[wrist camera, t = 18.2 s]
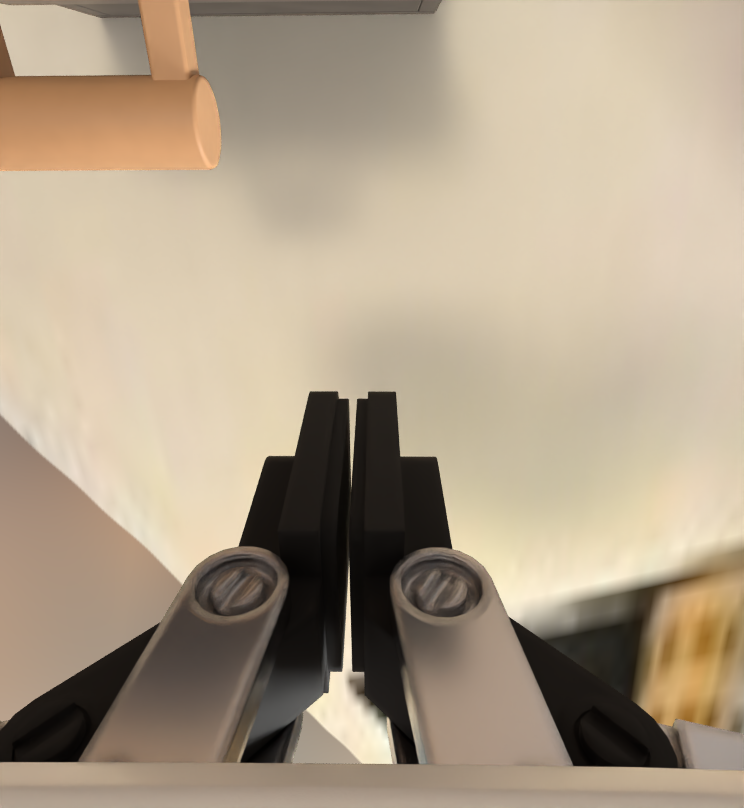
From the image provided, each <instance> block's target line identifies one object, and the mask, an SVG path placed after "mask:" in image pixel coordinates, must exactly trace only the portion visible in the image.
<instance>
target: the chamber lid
mask: <svg viewBox="0 0 744 808" xmlns="http://www.w3.org/2000/svg"><path fill="white" fill-rule="evenodd" d="M289 1H366V0H0V3H1V4H7V5H58V4H135V3H138V4H139V10H140V15H141V21H142V26H143V32H144V37H145V42H146V48H147V53H148V59H149V64H150V70H151V75H104V76H15V74H14V71H13V67H12V64H11V60H10V57H9V53H8V50H7V47H6V43H5V40H4V36H3V33H2V30H1V26H0V171H44V170H211V169H213V168H215V167H216V166H217V165H218V162H219V158H220V152H221V128H220V120H219V113H218V108H217V104H216V100H215V97H214V94H213V91H212V89H211V86H210V84H209V82H208V81H207V79H206V78H205V77H203V76H201V75H199V71H198V64H197V57H196V50H195V43H194V36H193V30H192V23H191V16H190V9H189V3H212V2H289Z"/></svg>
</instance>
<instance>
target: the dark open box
mask: <svg viewBox="0 0 744 808" xmlns="http://www.w3.org/2000/svg"><path fill="white" fill-rule="evenodd" d="M441 1H442V0H366V1H289V2H212V3H189V9H190V16H271V15H352V14H433V13H435V11H436V10H437V8H438V6H439V5H440V3H441ZM58 6H62V7H65V8H69V9H72V10H76V11H79V12H82V13H86V14H89V15H94V16H97V17H100V18H110V17H141V15H140V10H139V4H138V3H135V4H58Z"/></svg>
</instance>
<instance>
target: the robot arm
mask: <svg viewBox="0 0 744 808" xmlns="http://www.w3.org/2000/svg"><path fill="white" fill-rule="evenodd" d="M349 565H350V601H351V637H352V671H353V672H364V676H365V696H366V697H367V698H368V699H369V700H371V701H372V702H373V703H374V704H375V705H376V706H377V707H378V708H379V709H380V710H381V711H382V712H383V713H384V714H385V715H386V716H387V732H388V738H389V744H390V750H391V756H392V762H393V764H313V763H303V764H302V763H292V762H293V759H294V755H295V751H296V748H297V744H298V740H299V737H300V732H301V729H302V721H303V711H304V710H306V709H307V708H308V707H309V706H310V705H311V704H313V703H314V702H315V701H316V700H317V699H318V698H320V697H321V696H322V695H323V693H328V692H329V680H330V672H342V668H343V653H344V637H345V620H346V603H347V587H348V570H349ZM0 808H744V734H741V733H737V732H733V731H728V730H724V729H719V728H715V727H710V726H706V725H701V724H697V723H692V722H688V721H683V720H679V719H675V722H674V724H673V726H672V727H671V726H667V725H662V724H658V723H657V722H656V721H655V720H654V719H653V718H652V717H651V716H650V715H649V714H648V713H646V712H645V711H644V710H643V709H642V708H640V707H639V706H638V705H637V704H636V703H634V702H633V701H631V700H630V699H628V698H627V697H625V696H624V695H622V694H621V693H619V692H618V691H617V690H615V689H614V688H612V687H611V686H609V685H608V684H606V683H605V682H603V681H602V680H600V679H599V678H598V677H596V676H595V675H593V674H592V673H590V672H589V671H587V670H586V669H584V668H583V667H581V666H580V665H579V664H577V663H576V662H574V661H573V660H571V659H570V658H568V657H567V656H565V655H564V654H562V653H561V652H559V651H558V650H557V649H555V648H554V647H552V646H551V645H549V644H548V643H546V642H545V641H543V640H542V639H540V638H539V637H538V636H536V635H535V634H533V633H532V632H530V631H529V630H527V629H526V628H524V627H523V626H521V625H520V624H519V623H517V622H516V621H514V620H513V619H511V618H510V617H508V615H507V613H506V610H505V608H504V606H503V603H502V601H501V599H500V597H499V594H498V592H497V590H496V587H495V585H494V583H493V581H492V578H491V577H490V575H489V574H488V572H487V571H486V569H485V568H484V566H482V565H481V564H480V563H479V562H478V561H476V560H475V559H474V558H473V557H471V556H469V555H467V554H464V553H462V552H460V551H457V550H453V549H452V545H451V539H450V533H449V527H448V521H447V515H446V509H445V503H444V497H443V491H442V485H441V479H440V473H439V467H438V462H437V458H436V457H400V448H399V432H398V417H397V402H396V392H368V399H357V410H356V426H355V441H354V456H353V472H352V487H351V465H350V423H349V399H339V396H338V392H310V393H309V396H308V401H307V405H306V409H305V414H304V418H303V422H302V427H301V431H300V436H299V440H298V444H297V449H296V453H295V456H268V457H267V458H266V460H265V463H264V466H263V469H262V472H261V475H260V479H259V482H258V485H257V488H256V492H255V495H254V498H253V501H252V505H251V508H250V511H249V514H248V518H247V521H246V524H245V527H244V531H243V534H242V537H241V540H240V543H239V547H235V548H230V549H225V550H222V551H220V552H218V553H216V554H213V555H211V556H209V557H208V558H206V559H205V560H204V561H202V562H201V563H200V564H198V565H197V566H196V567H195V568H194V570H193V571H192V572H191V573H190V575H189V576H188V577H187V579H186V580H185V582H184V584H183V586H182V587H181V589H180V591H179V593H178V594H177V596H176V597H175V599H174V601H173V602H172V604H171V606H170V607H169V609H168V611H167V612H166V614H165V616H164V618H163V619H162V621H161V622H160V623H158V624H157V625H155V626H154V627H152V628H150V629H149V630H147V631H145V632H144V633H142V634H141V635H139V636H138V637H136V638H134V639H133V640H131V641H129V642H128V643H126V644H124V645H123V646H121V647H120V648H118V649H116V650H115V651H113V652H112V653H110V654H108V655H107V656H105V657H104V658H102V659H100V660H98V661H97V662H95V663H94V664H92V665H90V666H89V667H87V668H85V669H84V670H82V671H80V672H79V673H77V674H76V675H74V676H72V677H71V678H69V679H68V680H66V681H64V682H63V683H61V684H59V685H58V686H56V687H54V688H53V689H51V690H50V691H48V692H46V693H45V694H43V695H41V696H40V697H38V698H37V699H35V700H33V701H32V702H31V703H29V704H28V705H27V706H26V707H24V708H23V709H21V710H20V711H19V712H17V713H16V714H15V715H14V716H13V717H12V718H11V719H10V720H8V721H3V722H1V721H0Z"/></svg>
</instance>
